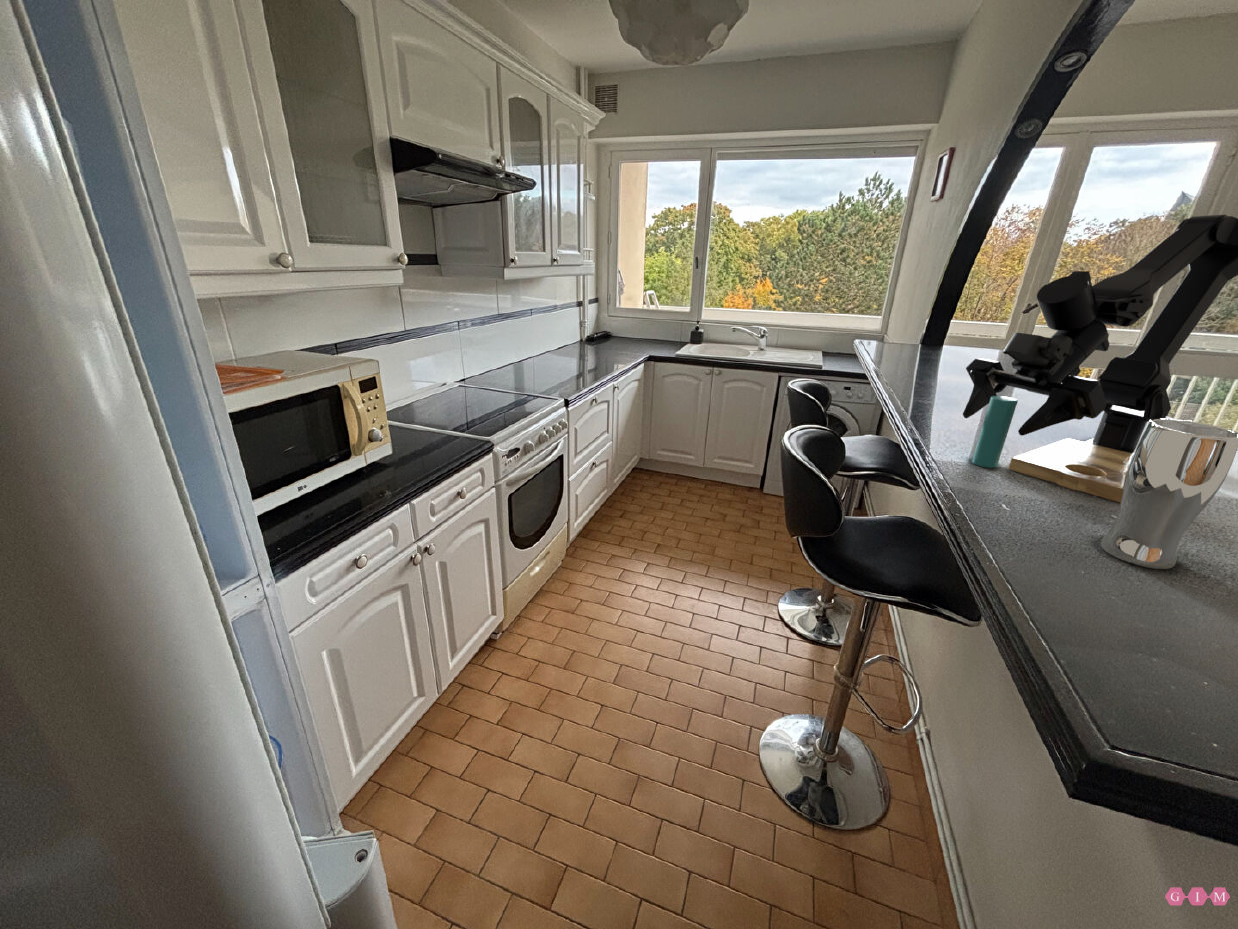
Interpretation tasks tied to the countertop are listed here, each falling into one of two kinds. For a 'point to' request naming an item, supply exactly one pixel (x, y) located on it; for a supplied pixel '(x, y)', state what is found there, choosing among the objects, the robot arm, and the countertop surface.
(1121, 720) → the countertop surface
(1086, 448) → the board
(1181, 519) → the beer glass
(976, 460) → the peg
